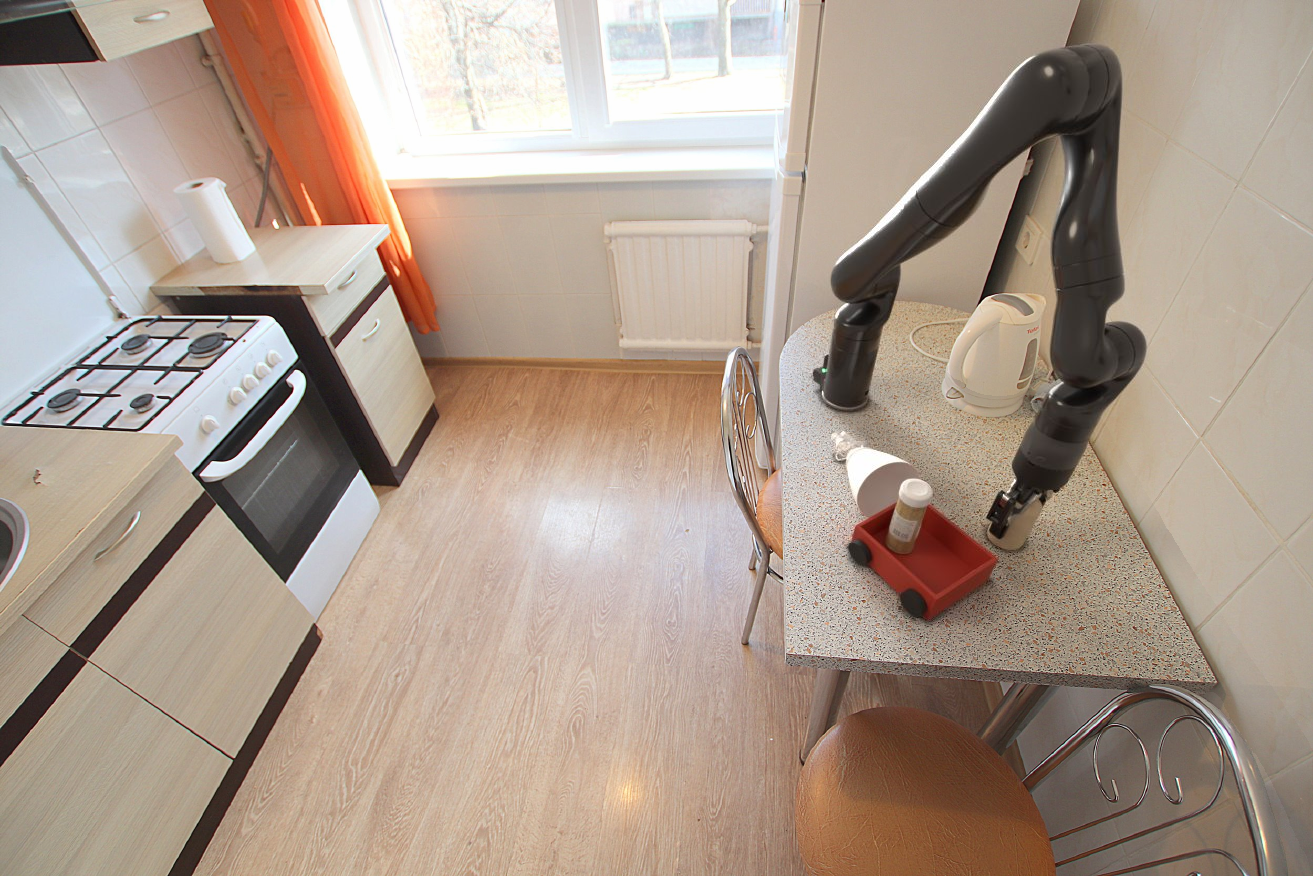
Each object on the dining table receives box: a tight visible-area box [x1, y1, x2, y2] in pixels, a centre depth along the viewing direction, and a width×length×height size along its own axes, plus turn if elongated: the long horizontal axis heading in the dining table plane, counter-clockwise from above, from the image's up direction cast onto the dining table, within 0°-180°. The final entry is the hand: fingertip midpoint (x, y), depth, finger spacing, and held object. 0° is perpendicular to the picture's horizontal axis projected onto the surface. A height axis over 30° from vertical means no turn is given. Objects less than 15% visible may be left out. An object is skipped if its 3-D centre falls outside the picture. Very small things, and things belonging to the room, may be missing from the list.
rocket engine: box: [830, 430, 922, 519], centre depth 110 cm, size 12×12×18 cm
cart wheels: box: [847, 540, 927, 618], centre depth 97 cm, size 15×16×4 cm
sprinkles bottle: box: [885, 479, 934, 554], centre depth 96 cm, size 5×5×14 cm
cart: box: [850, 502, 1000, 622], centre depth 97 cm, size 16×13×6 cm
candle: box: [986, 491, 1043, 551], centre depth 98 cm, size 6×6×10 cm
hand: (1013, 523), depth 99 cm, fingers open, 8 cm apart
